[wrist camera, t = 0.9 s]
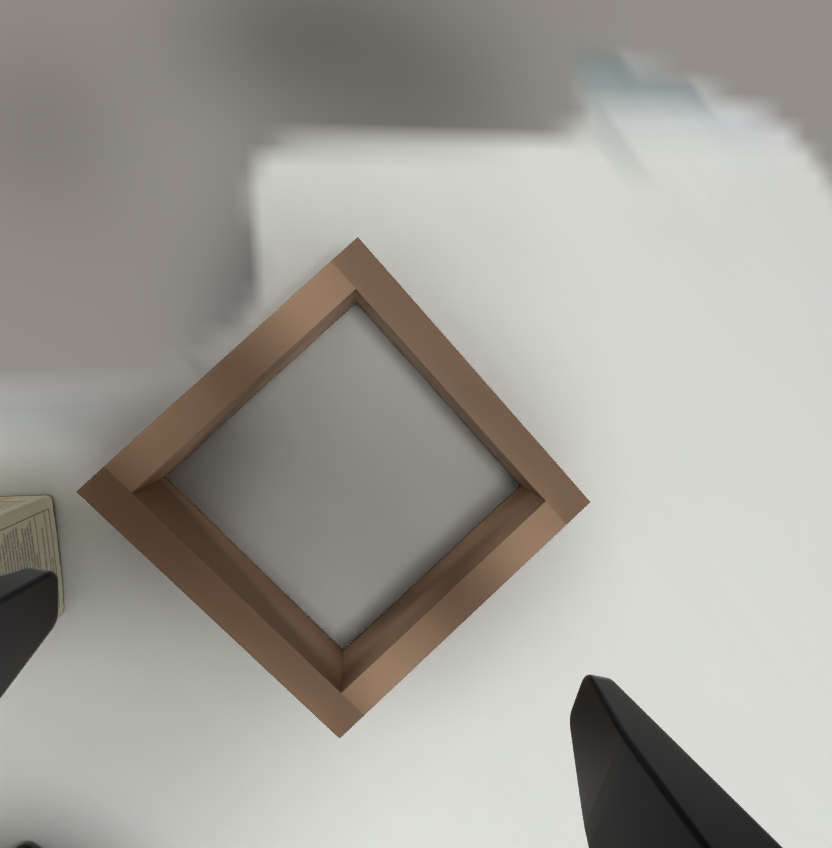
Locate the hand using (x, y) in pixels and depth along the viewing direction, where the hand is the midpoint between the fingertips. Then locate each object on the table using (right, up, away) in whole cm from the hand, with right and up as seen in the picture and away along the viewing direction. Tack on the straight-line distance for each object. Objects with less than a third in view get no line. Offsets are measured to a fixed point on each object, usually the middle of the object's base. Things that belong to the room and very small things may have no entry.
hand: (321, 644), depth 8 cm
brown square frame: (-1, +1, +13) cm, 13 cm away
